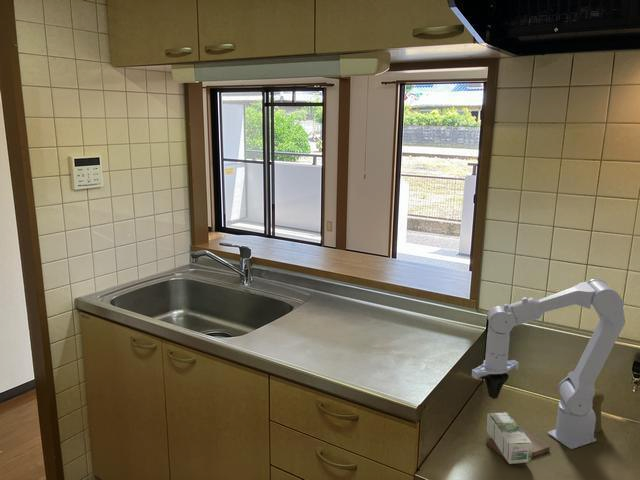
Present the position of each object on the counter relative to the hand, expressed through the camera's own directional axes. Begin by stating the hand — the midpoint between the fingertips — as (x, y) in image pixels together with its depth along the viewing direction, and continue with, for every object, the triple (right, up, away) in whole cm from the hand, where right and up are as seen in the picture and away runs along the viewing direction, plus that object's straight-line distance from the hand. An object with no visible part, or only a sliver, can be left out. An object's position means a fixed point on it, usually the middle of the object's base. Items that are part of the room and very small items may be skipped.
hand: (493, 396), depth 143 cm
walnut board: (+5, -12, -5) cm, 14 cm away
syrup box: (+1, -6, -1) cm, 6 cm away
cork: (+29, -10, +4) cm, 31 cm away
